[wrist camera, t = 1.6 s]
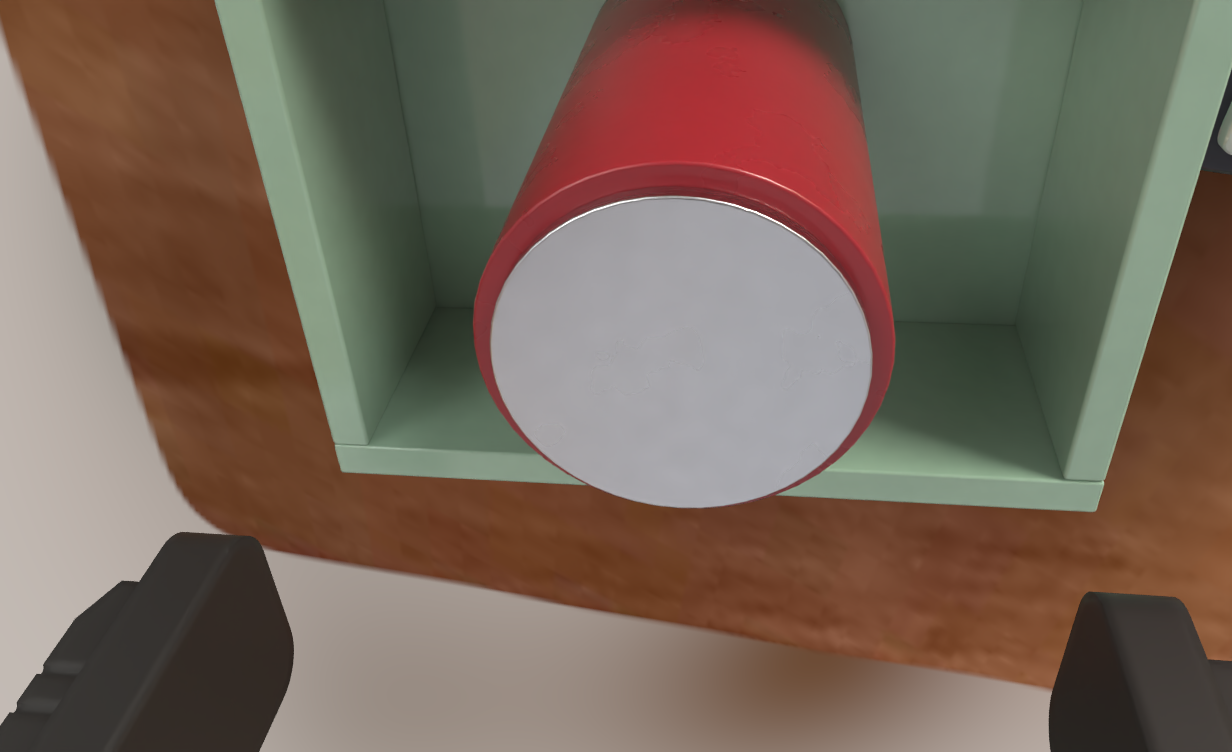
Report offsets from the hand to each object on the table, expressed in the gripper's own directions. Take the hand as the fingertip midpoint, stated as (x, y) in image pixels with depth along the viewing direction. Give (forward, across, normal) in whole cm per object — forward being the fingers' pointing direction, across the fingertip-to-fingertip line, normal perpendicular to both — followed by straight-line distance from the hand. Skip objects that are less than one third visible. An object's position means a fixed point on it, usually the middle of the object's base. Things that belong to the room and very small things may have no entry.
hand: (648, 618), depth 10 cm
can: (+15, 0, 0) cm, 15 cm away
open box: (+15, 0, 0) cm, 15 cm away
